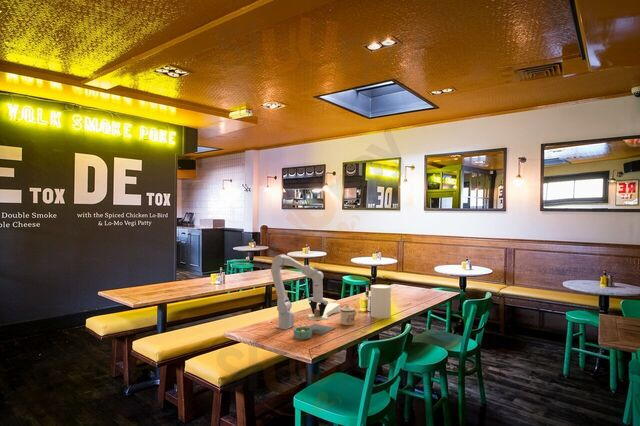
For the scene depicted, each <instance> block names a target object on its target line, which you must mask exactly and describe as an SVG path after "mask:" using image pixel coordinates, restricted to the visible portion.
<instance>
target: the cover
mask: <svg viewBox="0 0 640 426" xmlns="http://www.w3.org/2000/svg"><path fill="white" fill-rule="evenodd" d="M307 317H308V320H309V321H326V320H327V321H328V320H329V319H330V318H329V316H327V315H326V314H323V316H320V310H319V308H316V309H314V314H313V313H312V314H311V313H310V314H309V313H308V314H307Z"/></svg>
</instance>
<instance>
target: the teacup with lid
mask: <svg viewBox="0 0 640 426" xmlns="http://www.w3.org/2000/svg"><path fill="white" fill-rule="evenodd" d="M356 315H357V312H356V310H355V308H354V307H352V306H350V304H346V305H344V307H341V309H340V324H341V325H345V326H352V325H355V318H356Z"/></svg>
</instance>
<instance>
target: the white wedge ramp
mask: <svg viewBox="0 0 640 426" xmlns="http://www.w3.org/2000/svg"><path fill="white" fill-rule="evenodd" d="M341 308H342V307H341V303H336V302H328V304H327V306H326V308H325V311H324V314H326V315H327V317H329V316H330V315H332V314H337V313H341V311H340V309H341Z"/></svg>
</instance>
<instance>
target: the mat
mask: <svg viewBox="0 0 640 426" xmlns="http://www.w3.org/2000/svg"><path fill="white" fill-rule="evenodd" d="M308 327H310V328H311V329H312V335H317V334H318V336H323V335H325V334H327V333H329V331H330V332H331V331H334V330H336V327H334V326H327V325H323V324H317V323H313V324H311V325H309V326H308Z"/></svg>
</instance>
